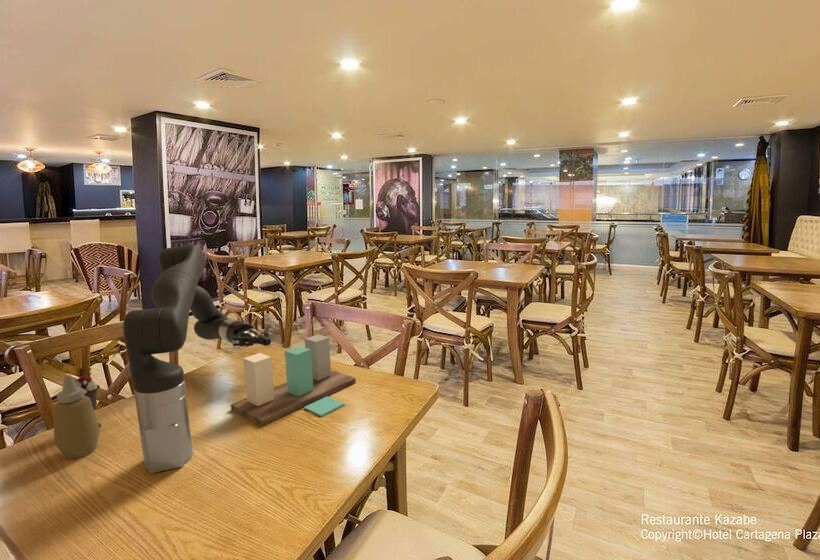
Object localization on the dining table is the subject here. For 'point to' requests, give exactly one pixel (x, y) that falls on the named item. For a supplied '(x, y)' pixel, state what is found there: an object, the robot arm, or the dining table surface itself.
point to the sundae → (88, 389)
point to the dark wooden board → (291, 399)
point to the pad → (324, 406)
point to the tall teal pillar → (299, 370)
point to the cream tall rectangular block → (258, 379)
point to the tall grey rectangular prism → (319, 356)
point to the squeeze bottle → (74, 421)
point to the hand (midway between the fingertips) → (268, 342)
